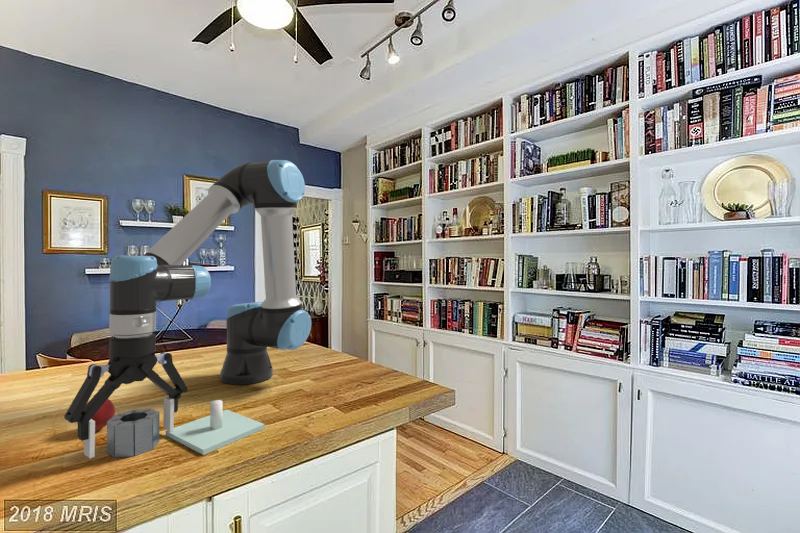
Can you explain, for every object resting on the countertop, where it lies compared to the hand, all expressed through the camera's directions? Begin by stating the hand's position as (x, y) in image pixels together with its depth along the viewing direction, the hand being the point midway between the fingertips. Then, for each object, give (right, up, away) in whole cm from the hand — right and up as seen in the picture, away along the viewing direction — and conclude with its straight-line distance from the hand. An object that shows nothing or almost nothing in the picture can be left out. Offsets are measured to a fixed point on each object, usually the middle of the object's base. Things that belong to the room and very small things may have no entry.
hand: (131, 442), depth 77 cm
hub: (0, -1, 0) cm, 1 cm away
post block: (+13, -1, +7) cm, 15 cm away
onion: (-12, -1, +7) cm, 14 cm away
